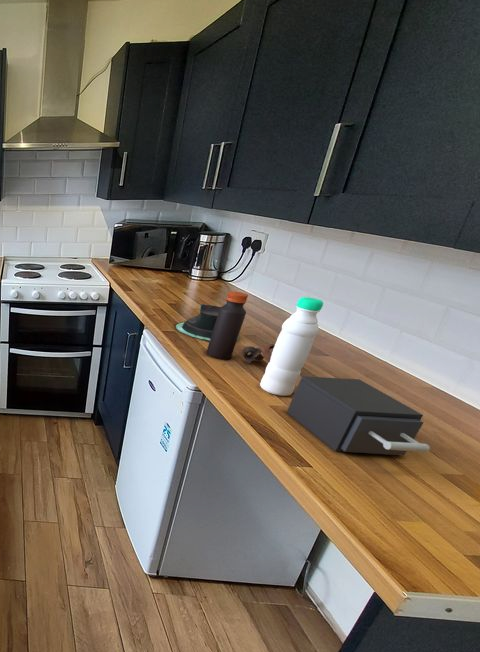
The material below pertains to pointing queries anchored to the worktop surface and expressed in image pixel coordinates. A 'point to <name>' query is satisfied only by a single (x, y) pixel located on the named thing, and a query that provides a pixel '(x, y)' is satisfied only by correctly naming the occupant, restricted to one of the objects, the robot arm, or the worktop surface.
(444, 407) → the worktop surface
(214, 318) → the dark green hat
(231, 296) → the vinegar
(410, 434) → the mini chest drawer
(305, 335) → the water bottle
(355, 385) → the grey drawer unit
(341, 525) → the worktop surface
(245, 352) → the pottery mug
